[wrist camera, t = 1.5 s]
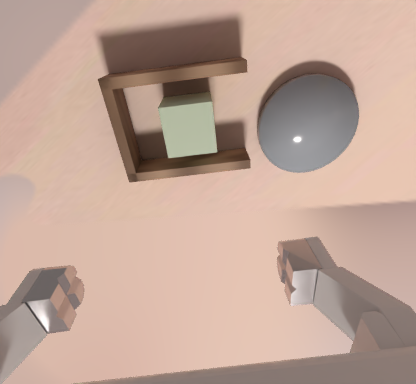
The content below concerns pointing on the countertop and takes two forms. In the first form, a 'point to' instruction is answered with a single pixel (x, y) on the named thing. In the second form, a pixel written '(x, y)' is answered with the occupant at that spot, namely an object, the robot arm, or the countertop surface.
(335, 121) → the grey round glossy part
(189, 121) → the cube
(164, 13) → the countertop surface
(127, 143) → the cubby
